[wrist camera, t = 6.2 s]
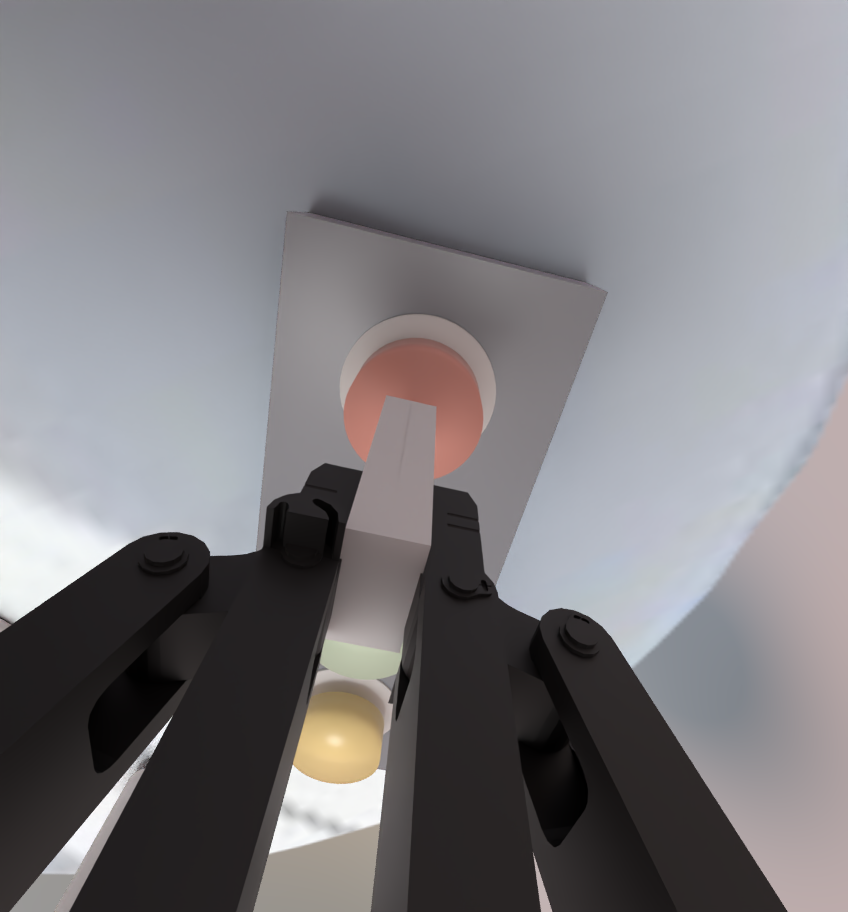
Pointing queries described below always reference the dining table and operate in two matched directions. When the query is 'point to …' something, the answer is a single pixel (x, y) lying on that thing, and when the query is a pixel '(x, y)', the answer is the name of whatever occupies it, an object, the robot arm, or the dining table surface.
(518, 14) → the dining table surface
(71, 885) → the can
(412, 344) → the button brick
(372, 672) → the button sage
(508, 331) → the console
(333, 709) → the button ochre
